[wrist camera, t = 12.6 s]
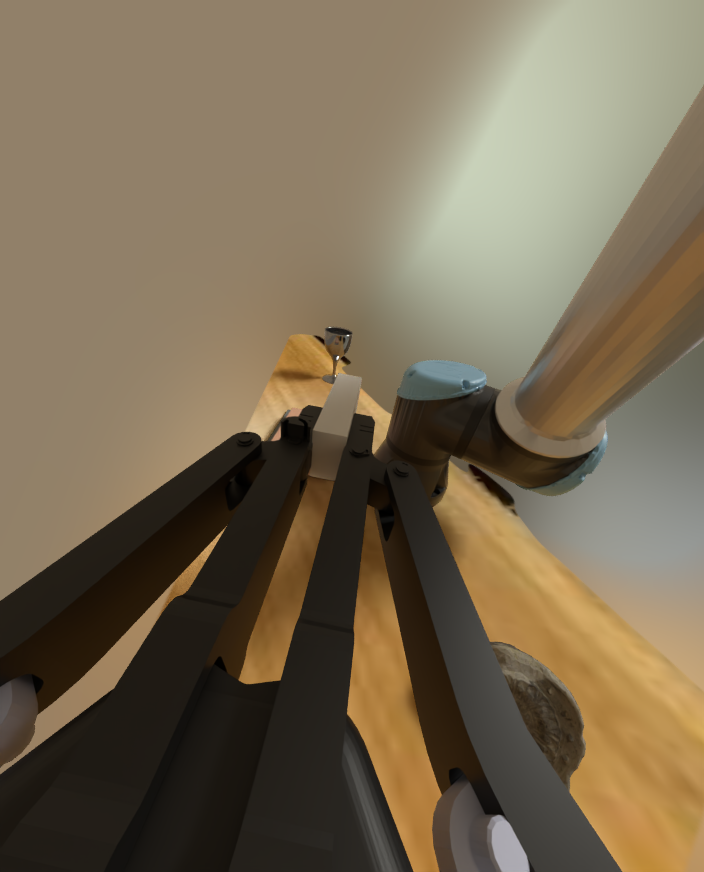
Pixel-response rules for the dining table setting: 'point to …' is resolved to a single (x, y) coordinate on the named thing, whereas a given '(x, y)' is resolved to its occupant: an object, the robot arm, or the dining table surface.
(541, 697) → the fossil
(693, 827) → the dining table surface
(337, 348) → the wine glass
